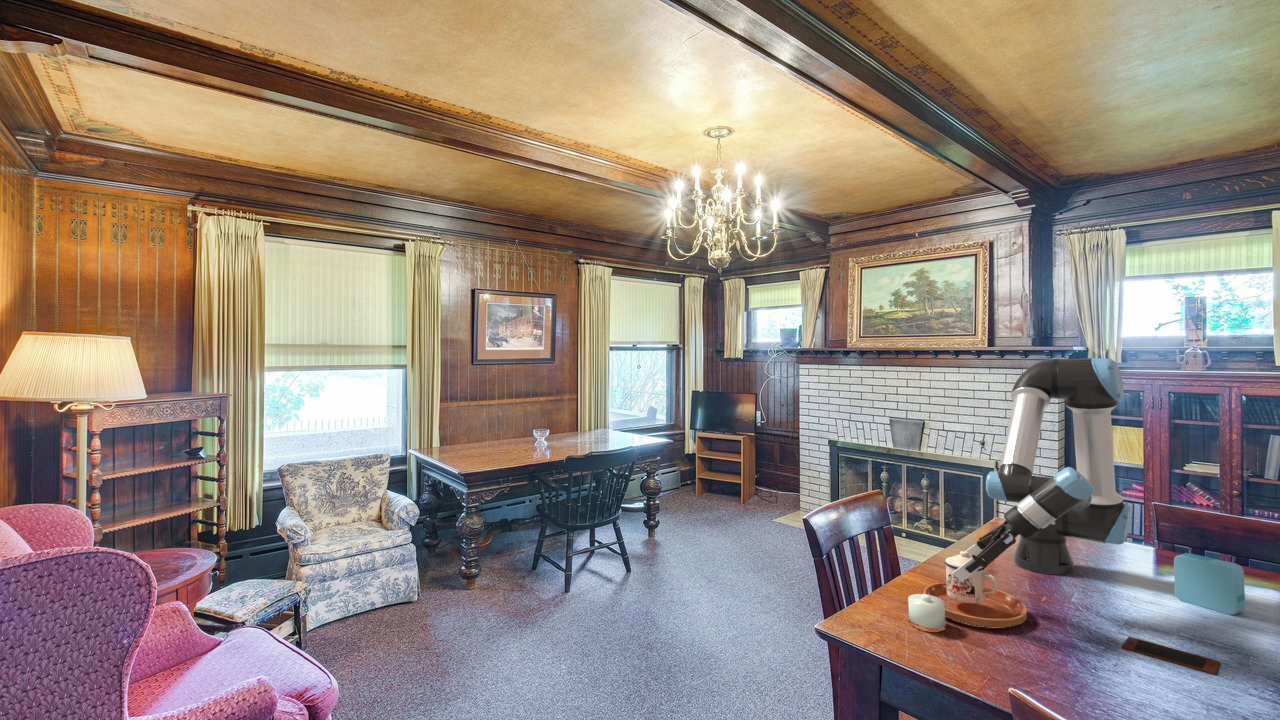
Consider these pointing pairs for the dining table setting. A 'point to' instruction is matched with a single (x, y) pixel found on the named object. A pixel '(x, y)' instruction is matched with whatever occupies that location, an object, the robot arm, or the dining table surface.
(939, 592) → the saucer
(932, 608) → the sugar bowl
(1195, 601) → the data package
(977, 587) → the teacup with lid
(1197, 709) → the dining table surface
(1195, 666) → the smartphone
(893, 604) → the dining table surface
